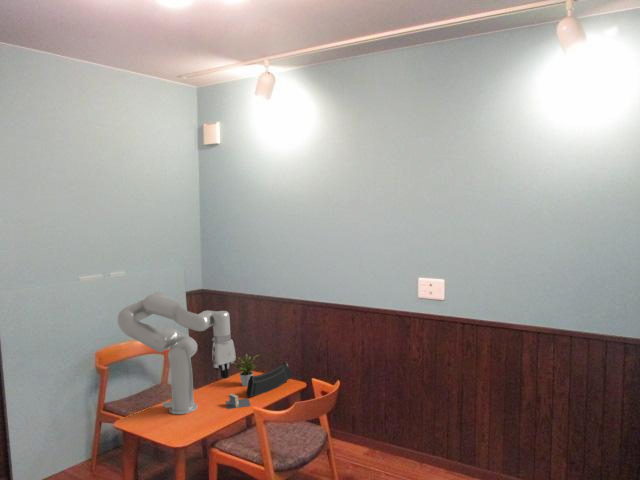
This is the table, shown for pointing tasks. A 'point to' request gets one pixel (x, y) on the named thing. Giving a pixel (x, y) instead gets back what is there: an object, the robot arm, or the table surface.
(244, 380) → the house plant
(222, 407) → the table surface
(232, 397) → the tile
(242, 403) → the mat
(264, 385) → the magazine
